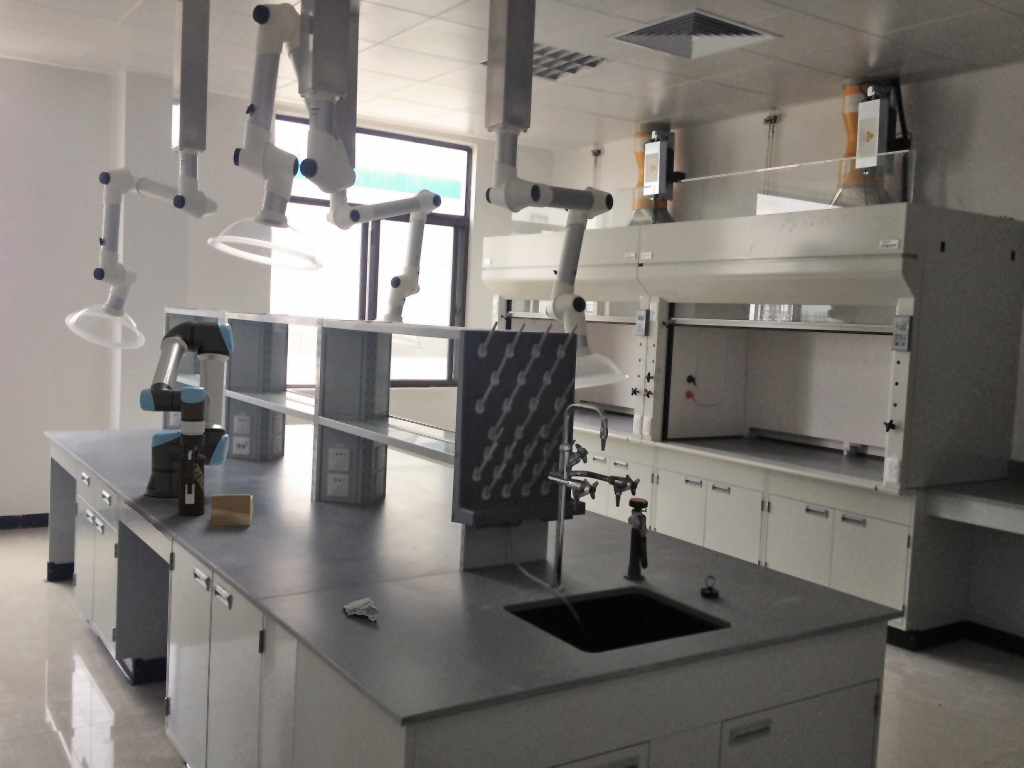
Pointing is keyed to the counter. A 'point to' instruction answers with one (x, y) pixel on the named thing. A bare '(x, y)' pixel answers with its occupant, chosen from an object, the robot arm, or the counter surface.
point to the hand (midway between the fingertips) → (191, 500)
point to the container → (198, 489)
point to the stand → (231, 509)
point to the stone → (363, 607)
